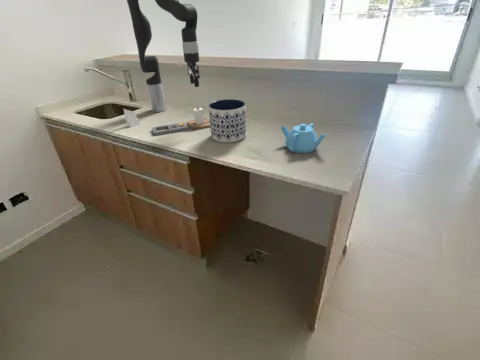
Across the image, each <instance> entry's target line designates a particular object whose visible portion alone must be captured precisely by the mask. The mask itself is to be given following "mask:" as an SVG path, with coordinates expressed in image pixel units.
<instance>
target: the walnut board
mask: <svg viewBox="0 0 480 360" xmlns="http://www.w3.org/2000/svg"><path fill="white" fill-rule="evenodd" d="M186 122H187V124H186V125H187V126H189V128H190V129H191V131H194V130H200V129H207V128H210V119H208V117H207V118H205V117H204V124H199V125H197V124H196V123H195V119H194V120H188V121H186Z"/></svg>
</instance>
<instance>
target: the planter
mask: <svg viewBox="0 0 480 360" xmlns="http://www.w3.org/2000/svg"><path fill="white" fill-rule="evenodd" d="M246 104H247V103H246V102H245V101H243V100H242V99H241V100H239V99H233V98H232V99H231V98H230V99H229V98H228V99H218V100H215V101H212V102H210V103H209V104H208V106H207V107H208V115H209V119H208V120H209V121H210V127H209V128H210V137H211V138H212V140H214V141H216V142H219V143H235V142H239V141H241V140H244V139H245V138H246V136H247V107H246V106H247V105H246Z"/></svg>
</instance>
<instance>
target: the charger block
mask: <svg viewBox="0 0 480 360" xmlns="http://www.w3.org/2000/svg"><path fill="white" fill-rule="evenodd" d="M192 109H193V117H194V120H195V123H196V124H197V125H199V124H204V119H205V116H204V109H203V108H202V107H199V106H197V107H195V108H192Z"/></svg>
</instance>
